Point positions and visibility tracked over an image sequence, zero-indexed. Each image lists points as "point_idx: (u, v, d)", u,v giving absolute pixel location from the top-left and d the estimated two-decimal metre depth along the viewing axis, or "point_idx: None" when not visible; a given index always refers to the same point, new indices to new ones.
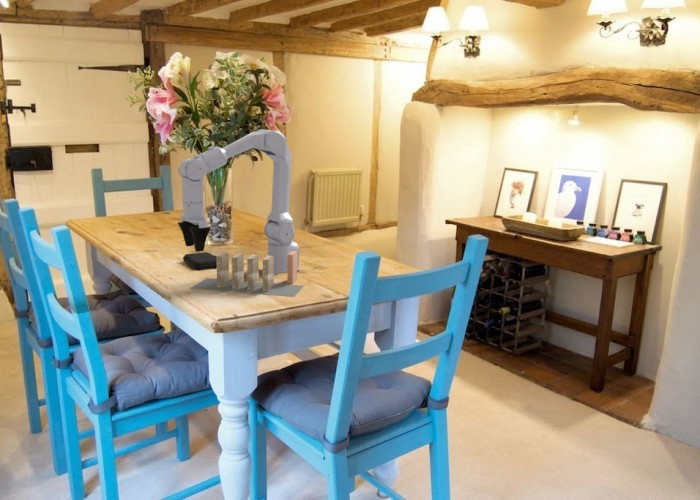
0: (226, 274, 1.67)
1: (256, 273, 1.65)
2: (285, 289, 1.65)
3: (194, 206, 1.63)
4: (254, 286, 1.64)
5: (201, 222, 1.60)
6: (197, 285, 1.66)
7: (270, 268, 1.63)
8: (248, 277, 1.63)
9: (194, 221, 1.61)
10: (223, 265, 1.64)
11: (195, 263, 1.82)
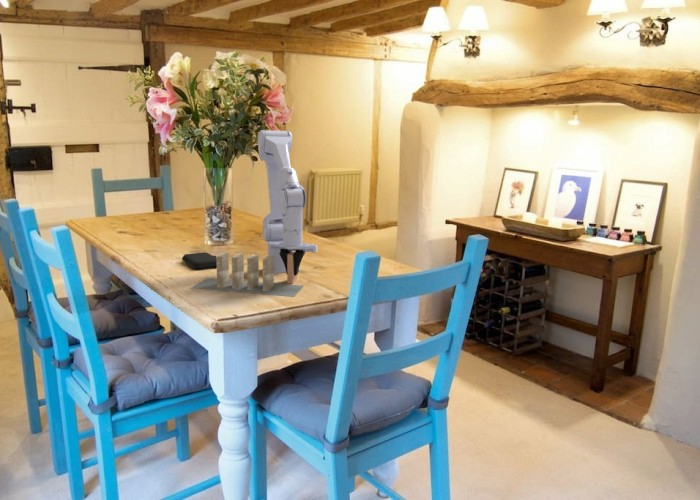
0: (226, 274, 1.67)
1: (256, 273, 1.65)
2: (285, 289, 1.65)
3: (301, 233, 1.69)
4: (254, 286, 1.64)
5: (316, 247, 1.69)
6: (197, 285, 1.66)
7: (270, 268, 1.63)
8: (248, 277, 1.63)
9: (306, 247, 1.68)
10: (223, 265, 1.64)
11: (194, 263, 1.82)
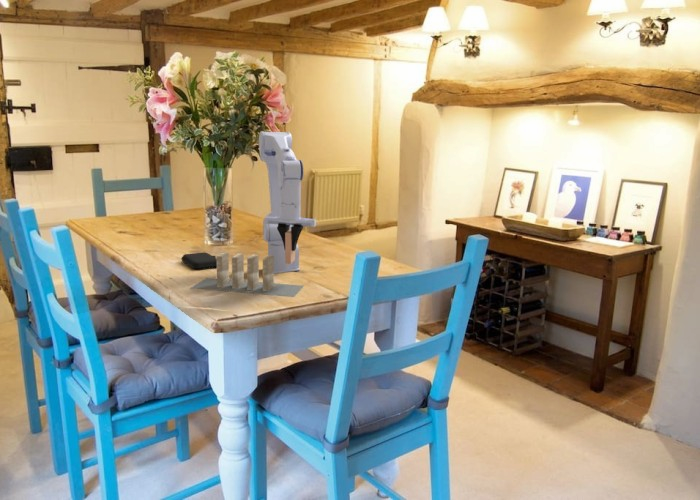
0: (226, 274, 1.67)
1: (256, 273, 1.65)
2: (285, 289, 1.65)
3: (299, 207, 1.64)
4: (254, 286, 1.64)
5: (314, 221, 1.64)
6: (197, 285, 1.66)
7: (270, 268, 1.63)
8: (248, 277, 1.63)
9: (304, 221, 1.64)
10: (223, 265, 1.64)
11: (194, 263, 1.82)
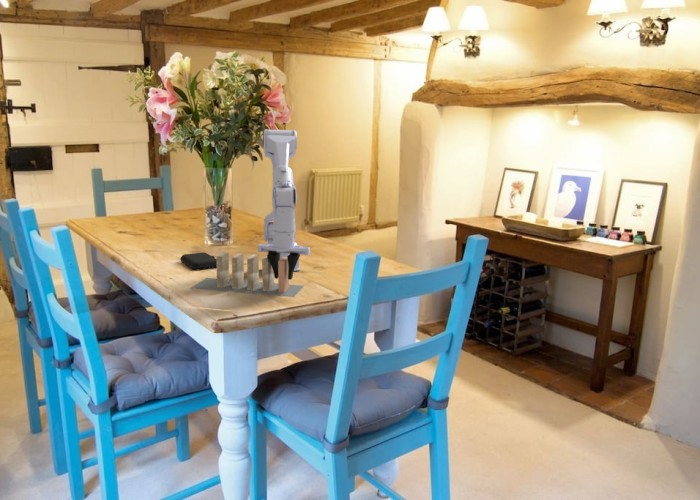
0: (226, 274, 1.67)
1: (256, 273, 1.65)
2: None
3: (292, 235, 1.60)
4: (254, 286, 1.64)
5: (308, 249, 1.60)
6: (197, 285, 1.66)
7: (270, 268, 1.63)
8: (248, 277, 1.63)
9: (298, 250, 1.59)
10: (223, 265, 1.64)
11: (193, 263, 1.82)
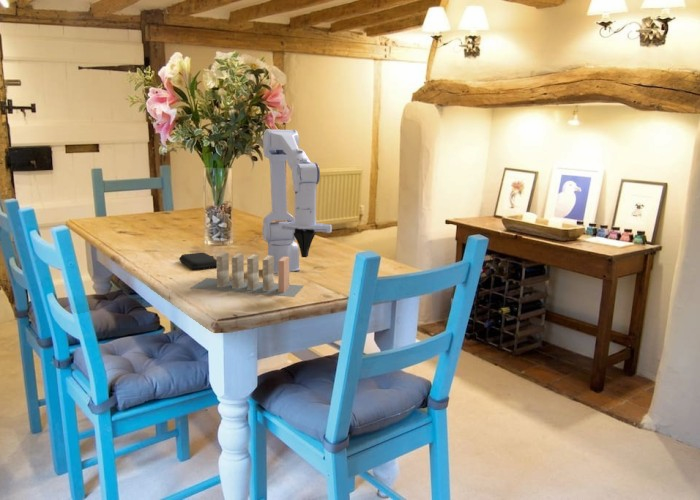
0: (226, 274, 1.67)
1: (256, 273, 1.65)
2: None
3: (314, 212, 1.57)
4: (254, 286, 1.64)
5: (330, 226, 1.57)
6: (197, 285, 1.66)
7: (270, 268, 1.63)
8: (248, 277, 1.63)
9: (320, 227, 1.57)
10: (223, 265, 1.64)
11: (193, 263, 1.82)
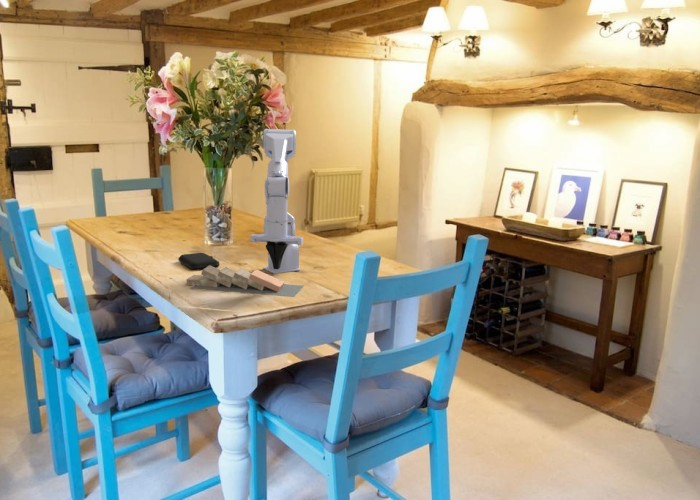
0: None
1: None
2: (285, 289, 1.65)
3: (285, 225, 1.59)
4: None
5: (301, 239, 1.59)
6: (197, 285, 1.66)
7: (247, 275, 1.65)
8: (234, 283, 1.64)
9: (291, 239, 1.59)
10: (197, 278, 1.66)
11: (192, 263, 1.82)
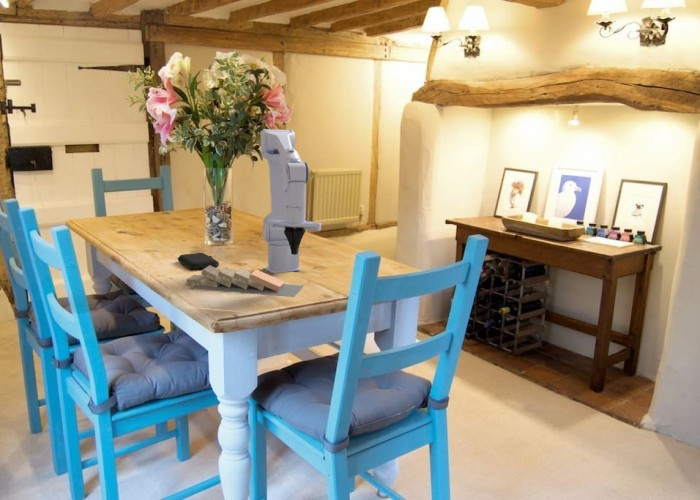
0: None
1: None
2: (285, 289, 1.65)
3: (304, 210, 1.60)
4: None
5: (319, 224, 1.61)
6: (197, 285, 1.66)
7: (247, 275, 1.65)
8: (234, 283, 1.64)
9: (309, 225, 1.60)
10: (197, 278, 1.66)
11: (192, 264, 1.82)
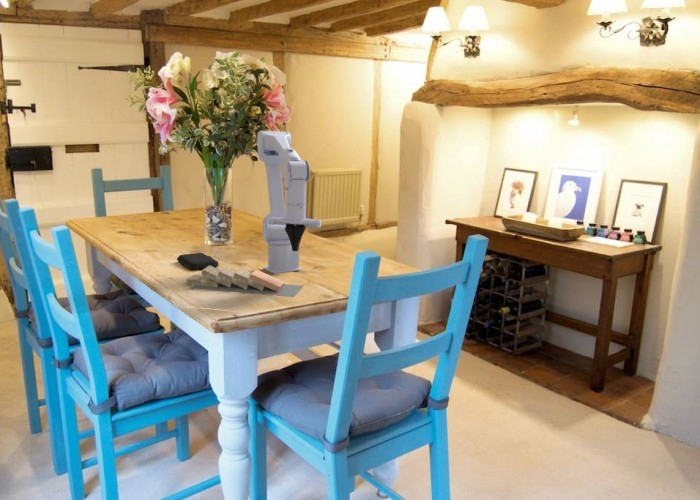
0: None
1: None
2: (285, 289, 1.65)
3: (304, 208, 1.64)
4: None
5: (320, 222, 1.64)
6: (197, 285, 1.66)
7: (247, 275, 1.65)
8: (234, 283, 1.64)
9: (310, 222, 1.64)
10: (197, 278, 1.66)
11: (192, 264, 1.81)
